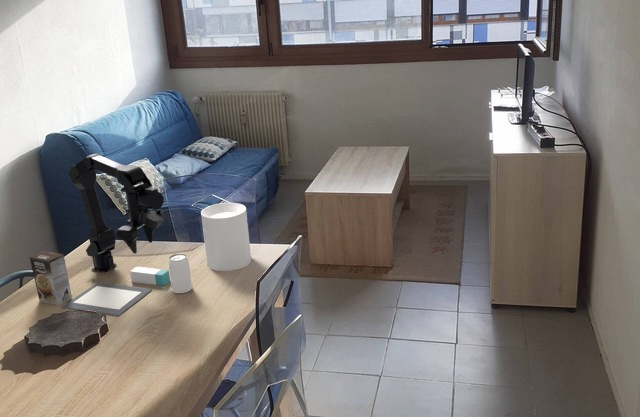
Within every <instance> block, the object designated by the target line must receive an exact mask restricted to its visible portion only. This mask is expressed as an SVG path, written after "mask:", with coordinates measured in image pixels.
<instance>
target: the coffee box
mask: <svg viewBox="0 0 640 417" xmlns="http://www.w3.org/2000/svg"><path fill="white" fill-rule="evenodd" d="M29 261H30V265H31V271H32V274H33V278H34V284H35V288H36V291H37V292H36V293H37V297H38V301H39V302H42V303H44V304H45V303H46V304H49V305H52V306H56V307H59V306H61V305H63V304H66V303H67V302H69V301H71V300H72V299H73V294H72V292H71V285H70V281H69V275H68V271H67V264H66V259H65V254H62V253H59V252H54V251H49V250H43V251H41V252H38V253H35V254H33V255H31V256H29Z"/></svg>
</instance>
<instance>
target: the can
mask: <svg viewBox="0 0 640 417" xmlns="http://www.w3.org/2000/svg"><path fill="white" fill-rule="evenodd" d="M168 259H169V260H168V270H169V276H170V283H171V288H172V292H173V293H175V294H177V295H183V294H186V293H188V292H190V291H191V290H192V288H193V284H192V278H191V270H190V268H191V267H190V261H189V258H188V257H187V255H186V253H185V254H184V253H175V254H172V255H170V256H169V258H168Z"/></svg>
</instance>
